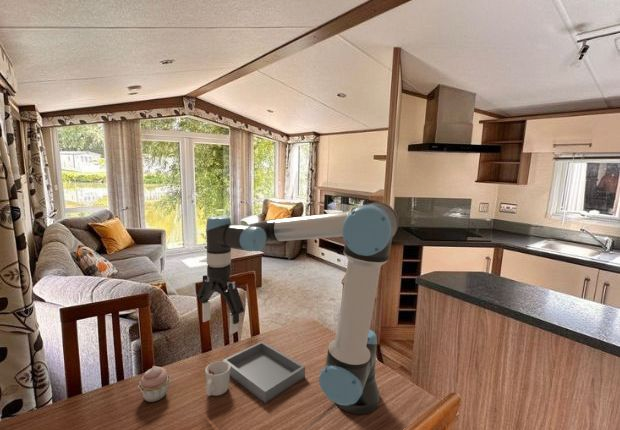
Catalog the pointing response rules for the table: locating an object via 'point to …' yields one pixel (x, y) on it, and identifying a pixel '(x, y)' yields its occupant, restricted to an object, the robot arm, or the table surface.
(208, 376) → the cup
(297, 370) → the box
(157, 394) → the cupcake
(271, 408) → the table surface
